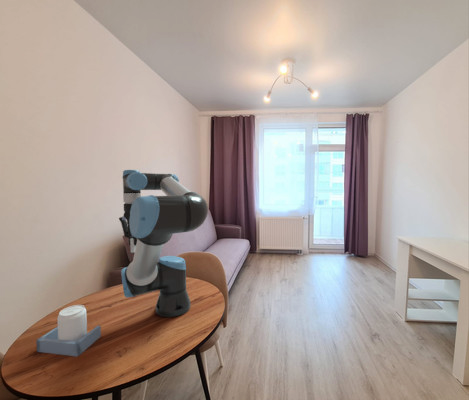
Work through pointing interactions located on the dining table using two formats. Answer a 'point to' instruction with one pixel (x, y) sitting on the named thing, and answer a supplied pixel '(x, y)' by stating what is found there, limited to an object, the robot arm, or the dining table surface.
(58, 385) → the dining table surface
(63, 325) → the beverage can
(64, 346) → the corral
